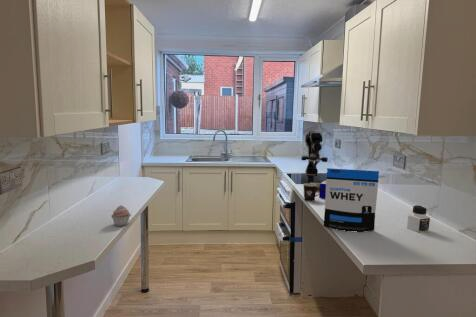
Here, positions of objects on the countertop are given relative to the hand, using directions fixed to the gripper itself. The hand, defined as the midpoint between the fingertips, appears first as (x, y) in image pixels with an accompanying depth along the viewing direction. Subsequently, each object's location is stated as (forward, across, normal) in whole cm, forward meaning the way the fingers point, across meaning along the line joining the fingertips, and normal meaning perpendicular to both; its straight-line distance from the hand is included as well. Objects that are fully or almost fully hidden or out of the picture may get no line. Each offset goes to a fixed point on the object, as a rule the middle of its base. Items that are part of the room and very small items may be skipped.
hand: (313, 170), depth 259 cm
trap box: (+13, +7, -6) cm, 16 cm away
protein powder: (+13, +32, -82) cm, 89 cm away
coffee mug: (+13, +6, -38) cm, 41 cm away
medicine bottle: (+13, +64, -69) cm, 95 cm away
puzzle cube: (+13, +15, -25) cm, 32 cm away
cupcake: (+13, -74, -125) cm, 146 cm away
